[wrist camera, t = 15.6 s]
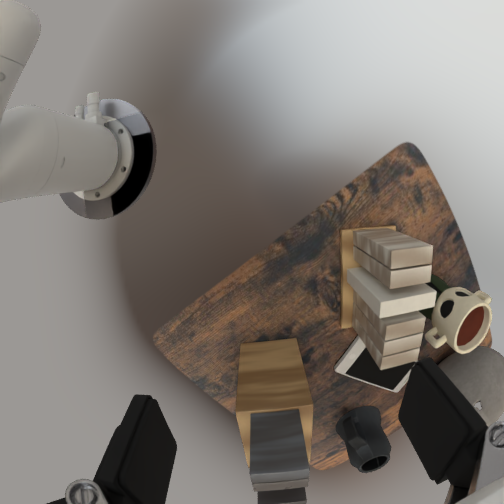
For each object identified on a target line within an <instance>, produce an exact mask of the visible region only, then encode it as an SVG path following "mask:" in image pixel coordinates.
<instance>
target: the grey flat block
mask: <svg viewBox="0 0 504 504" xmlns="http://www.w3.org/2000/svg"><path fill="white" fill-rule="evenodd" d="M347 282H348V283H349V284H350V286H351V287H352V288H353V289H354V290H355V291H356V292H357V293H358V295H359V296H360V297H361V298H362V299H363V300H364V301H365V302H366V304H367V305H368V306H369V307H370V308H371V309H372V310H373V312H374V313H375V314H376V315H377V316H378V317H379V318H385V317H390V316H395V315H399V314H404V313H409V312H413V311H418V310H422V309H427V308H431V307H435V300H436V293H437V291H435V290H434V289H432V288H431V287H429V286H428V285H426V284H425V283H422V284H417V285H412V286H406V287H400V288H394V289H389V288H388V287H387V286H386V285H384V284H383V283H382V282H381V281H380V280H378V279H377V278H376V277H375V276H374V275H372V274H371V273H370V272H369V271H367V270H366V269H365V268H364V267H358V268H350V269H347Z"/></svg>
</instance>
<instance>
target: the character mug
mask: <svg viewBox="0 0 504 504" xmlns="http://www.w3.org/2000/svg"><path fill="white" fill-rule="evenodd" d="M425 284H426V285H428V286H429V287H431V288H432V289H434V290H435V291H437V293H436V300H435V307H431V308H427V309H422V310H418V311H419V312H420V313H421V314H423V315H424V316H425V317H427V318H429V319H430V320H432V326H433V328H432V329H431V330H430V331H428V332H427V333H426V334H425V339H426V340H427V341H428V342H429V343H430V344H431V345H432V346H433V347H434V348H436V349H437V348H439V347H440V346H442V345H443V344H444V343H445V342H446V343H447V344H448V345H449V346H450V347H452V348H453V349H454V350H455V351H456V352H458V353H460V354H465V353H469V352H471V351H472V350H474V349H475V348H476V347H477V346H478V345H479V344H480V343H481V342H482V341H483V339H484V338H485V336H486V334H487V332H488V330H489V327H490V324H491V321H492V311H491V308H490V306H489V304H490V302H491V300H492V298H491V297H490V296H489V295H487V294H486V293H484V292H482V291H480V290H478V291H477V292H475V293H474V294H473V293H471V292H470V291H468V290H467V289H465V288H461V287H453V288H450V287H449V286H448V285H447V284H446V283H445V282H444V281H443V280H441V279H440V278H439V277H437V276H435V275H433V274H431V280H430V282H428V283H425ZM481 299H482V300H481ZM483 300H484V301H483ZM436 334H438V335H439V336H440V338H439V339H438V340H436V339H435V338H434V337H433V336H434V335H436Z"/></svg>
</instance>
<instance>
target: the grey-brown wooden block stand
mask: <svg viewBox="0 0 504 504" xmlns="http://www.w3.org/2000/svg"><path fill="white" fill-rule="evenodd" d="M432 254H433V246H432V245H430V244H427V243H425V242H422V241H420V240H417V239H415V238H412V237H410V236H407V235H405V234H402V233H400V232H397V231H396V226H395V225H385V226H374V227H362V228H350V229H340V256H341V314H340V326H341V328H342V329H344V328H350V327H353V328H354V329H355V331H356V332H357V334H358V335H359V337H360V339H361V340H362V342H363V343H364V345H365V346H366V348H367V350H368V351H369V353H370V354H371V356H372V357H373V359H374V361H375V362H376V364H377V365H378V367H379V369H380V370H383V369H387V368H391V367H395V366H399V365H403V364H406V363H410V362H414V361H417V359H418V355H419V350H420V348H419V347H420V346H421V341H422V336H423V333H422V332H423V330H424V325H425V319H426V317H425V316H424V315H423V314H421V313H420V312H419V311H413V312H409V313H404V314H399V315H395V316H390V317H385V318H379V317H378V316H377V315H376V314H375V313H374V312H373V310H372V309H371V308H370V307H369V306H368V305H367V304H366V302H365V301H364V300H363V299H362V298H361V297H360V296H359V295H358V293H357V292H356V291H355V290H354V289H353V288H352V287H351V286H350V284H349V283H348V282H347V269H350V268H358V267H364V268H365V269H366V270H367V271H369V272H370V273H371V274H372V275H374V276H375V277H376V278H377V279H378V280H380V281H381V282H382V283H383V284H384V285H386V286H387V287H388V288H389V289H394V288H400V287H406V286H412V285H417V284H422V283H428V282H430V280H431V269H432V265H430V264H429V263H432Z"/></svg>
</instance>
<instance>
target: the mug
mask: <svg viewBox="0 0 504 504" xmlns="http://www.w3.org/2000/svg"><path fill="white" fill-rule="evenodd" d="M336 431H337V432H338V434H339V435H340V437H341V438H342V439H343V440H344V441H345V444H346V447H347V452H348V456H349V459H350V463H351V464H352V465H353V466H354V467H356V468H358V470H359V471H360V472H362V473H368V472H372V471H375V470H377V469H380V468H381V467H383V466H384V465H385V464H387V463H388V461H389V459H390V451H391V445H390V443H389V441H388V439H387V436H386V434H385V433H384V431H383V429H382V427H381V416H380V412H379V410H378V409H377V408H376V407H373V406H363V407H359V408H356V409H354V410H352V411H350V412H348V413H346V414H345V415H344V416H342V417H341V419H340V420H339V421H338V423H337V425H336Z"/></svg>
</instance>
